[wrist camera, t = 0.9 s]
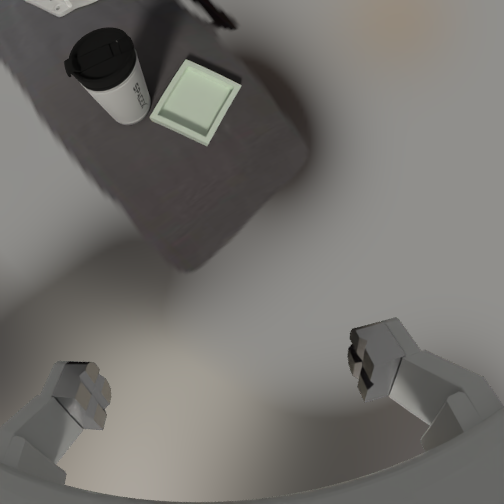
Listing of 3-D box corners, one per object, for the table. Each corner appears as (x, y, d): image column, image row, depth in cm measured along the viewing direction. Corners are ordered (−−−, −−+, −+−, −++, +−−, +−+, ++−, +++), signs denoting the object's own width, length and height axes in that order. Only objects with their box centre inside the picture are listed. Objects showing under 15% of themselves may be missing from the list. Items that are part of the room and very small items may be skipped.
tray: (151, 120, 39) (149, 117, 36) (185, 64, 38) (185, 59, 36) (207, 146, 41) (208, 144, 39) (238, 89, 40) (241, 85, 38)
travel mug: (104, 99, 36) (58, 45, 17) (143, 80, 37) (123, 13, 18) (116, 133, 38) (71, 95, 19) (156, 114, 39) (141, 61, 20)
